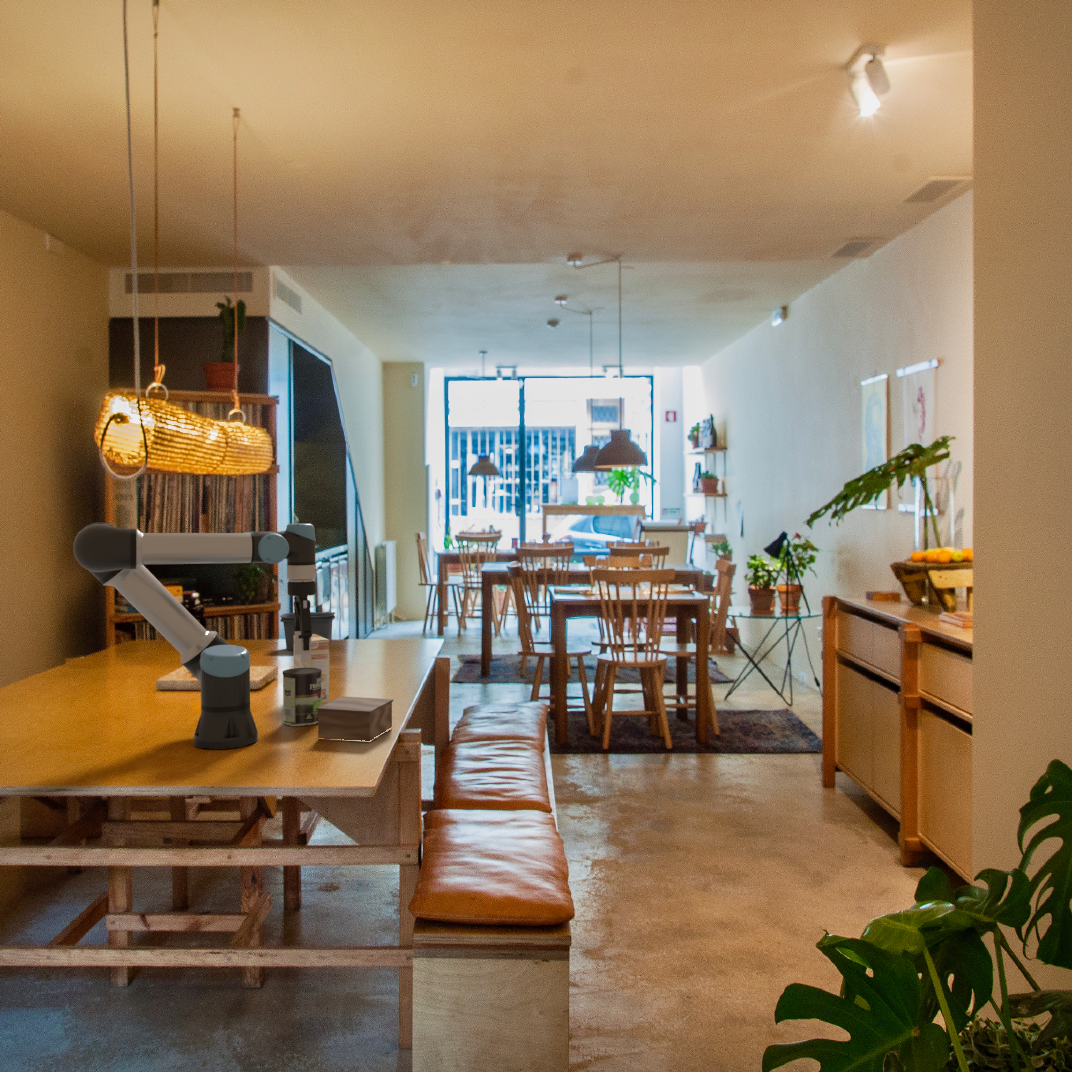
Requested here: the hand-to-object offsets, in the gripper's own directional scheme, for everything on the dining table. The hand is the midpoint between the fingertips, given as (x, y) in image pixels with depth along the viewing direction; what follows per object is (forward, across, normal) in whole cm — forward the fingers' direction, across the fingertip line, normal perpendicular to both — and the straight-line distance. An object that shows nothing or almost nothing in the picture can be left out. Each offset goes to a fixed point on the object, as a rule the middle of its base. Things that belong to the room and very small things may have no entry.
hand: (302, 658), depth 251 cm
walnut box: (+17, -19, -11) cm, 28 cm away
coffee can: (+18, 0, 0) cm, 18 cm away
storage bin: (+18, +129, -17) cm, 132 cm away
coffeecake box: (+18, +25, -5) cm, 31 cm away
